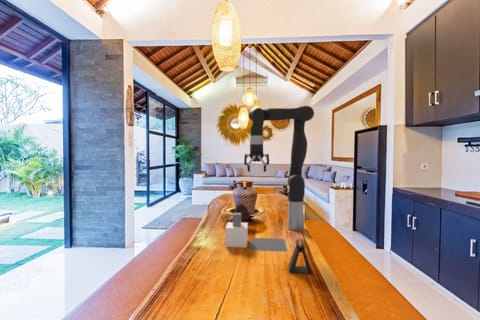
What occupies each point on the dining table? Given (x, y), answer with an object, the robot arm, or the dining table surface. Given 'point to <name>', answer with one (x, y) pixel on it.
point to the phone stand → (292, 264)
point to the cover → (236, 232)
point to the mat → (267, 244)
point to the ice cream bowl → (243, 212)
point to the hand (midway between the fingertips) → (256, 172)
